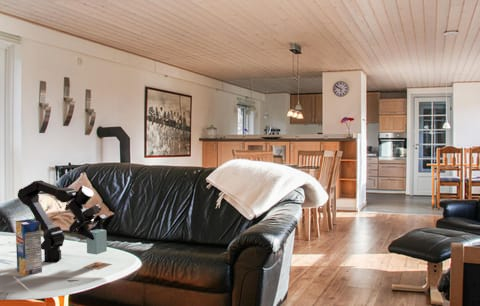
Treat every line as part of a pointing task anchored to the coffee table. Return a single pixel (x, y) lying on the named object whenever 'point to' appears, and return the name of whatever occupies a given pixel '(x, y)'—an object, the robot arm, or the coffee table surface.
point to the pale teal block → (97, 242)
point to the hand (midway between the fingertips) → (99, 237)
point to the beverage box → (28, 246)
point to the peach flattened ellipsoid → (97, 264)
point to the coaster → (98, 266)
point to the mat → (72, 280)
